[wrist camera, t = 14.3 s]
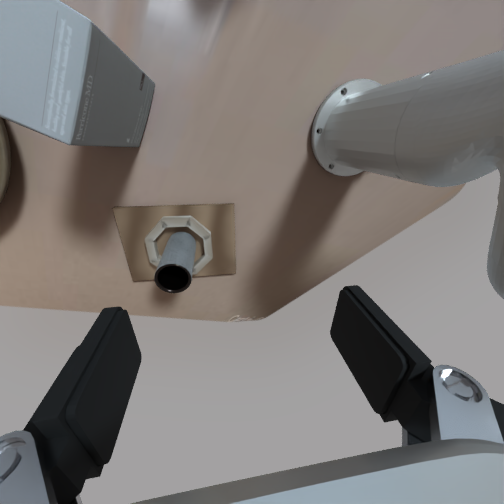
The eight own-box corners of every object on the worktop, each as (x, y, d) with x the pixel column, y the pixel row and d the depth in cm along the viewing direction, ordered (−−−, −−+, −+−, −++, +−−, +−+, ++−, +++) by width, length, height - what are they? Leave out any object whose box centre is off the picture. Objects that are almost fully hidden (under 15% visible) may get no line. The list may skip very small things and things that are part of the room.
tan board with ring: (233, 203, 36) (235, 207, 34) (235, 271, 42) (236, 278, 40) (114, 207, 34) (107, 211, 31) (134, 278, 40) (130, 286, 37)
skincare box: (140, 147, 31) (80, 158, 17) (81, 120, 28) (-45, 106, 14) (158, 80, 28) (104, 25, 14) (93, 43, 25) (-51, -69, 11)
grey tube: (176, 259, 38) (166, 298, 29) (162, 237, 36) (146, 272, 27) (201, 249, 38) (197, 285, 29) (188, 227, 36) (180, 258, 27)
